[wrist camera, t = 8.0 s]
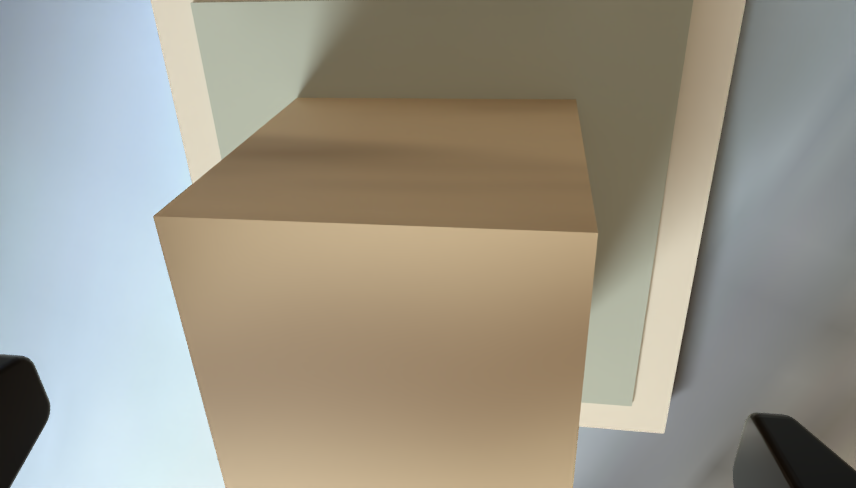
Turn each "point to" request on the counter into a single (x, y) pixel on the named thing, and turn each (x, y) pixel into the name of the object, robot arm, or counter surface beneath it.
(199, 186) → the cube
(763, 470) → the robot arm
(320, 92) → the tile
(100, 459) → the counter surface
